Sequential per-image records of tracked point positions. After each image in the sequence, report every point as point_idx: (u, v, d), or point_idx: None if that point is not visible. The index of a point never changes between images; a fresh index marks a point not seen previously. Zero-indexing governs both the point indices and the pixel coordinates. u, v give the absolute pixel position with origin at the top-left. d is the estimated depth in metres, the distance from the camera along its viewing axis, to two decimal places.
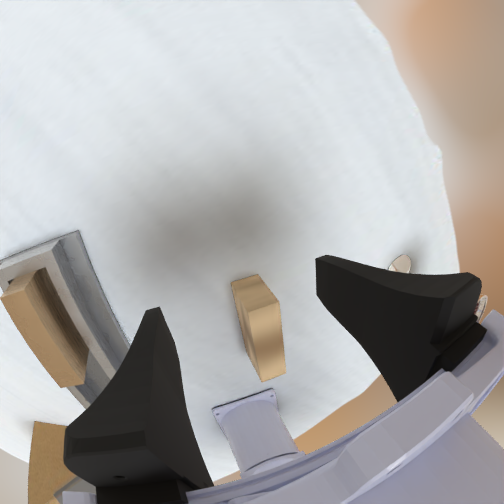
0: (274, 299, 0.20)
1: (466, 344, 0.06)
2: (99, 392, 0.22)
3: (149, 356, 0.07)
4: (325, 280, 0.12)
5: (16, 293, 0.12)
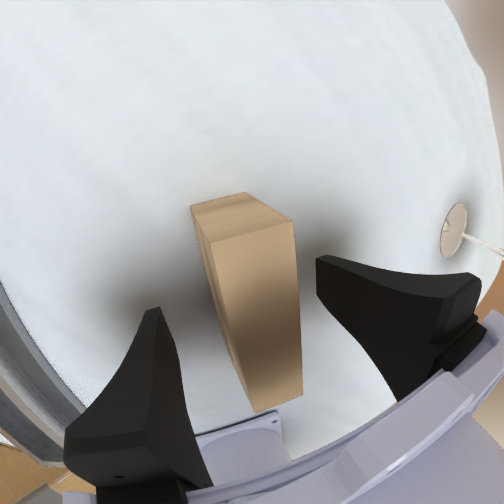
0: (280, 218, 0.08)
1: (466, 343, 0.06)
2: (6, 401, 0.10)
3: (149, 356, 0.07)
4: (325, 280, 0.12)
5: None
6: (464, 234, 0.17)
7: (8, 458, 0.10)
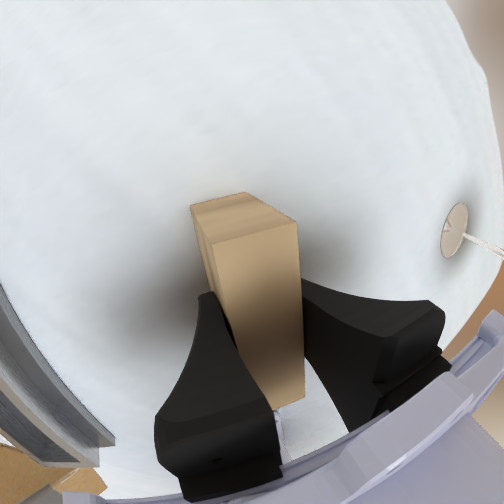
0: (283, 219, 0.08)
1: (421, 383, 0.06)
2: (5, 402, 0.10)
3: (224, 334, 0.08)
4: None
5: None
6: (465, 234, 0.17)
7: (10, 459, 0.11)
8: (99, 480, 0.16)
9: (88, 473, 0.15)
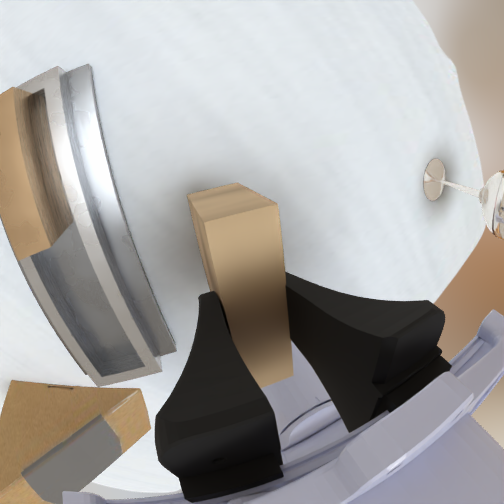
0: (267, 202, 0.09)
1: (420, 384, 0.06)
2: (79, 309, 0.17)
3: (224, 334, 0.08)
4: None
5: (1, 95, 0.07)
6: (442, 181, 0.24)
7: (58, 397, 0.18)
8: (146, 416, 0.24)
9: (138, 403, 0.22)
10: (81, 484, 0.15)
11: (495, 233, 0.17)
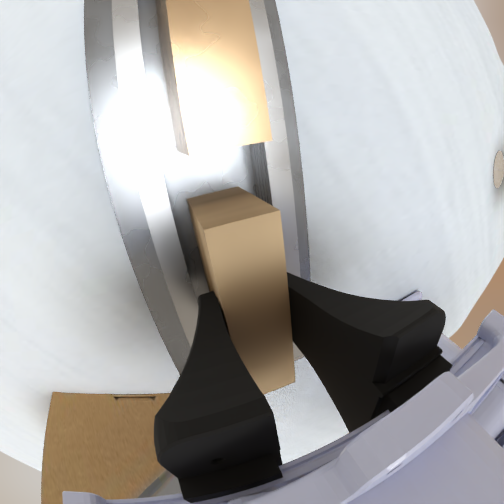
0: (269, 208, 0.09)
1: (421, 383, 0.06)
2: None
3: (223, 334, 0.08)
4: None
5: None
6: None
7: (135, 412, 0.15)
8: None
9: None
10: None
11: None
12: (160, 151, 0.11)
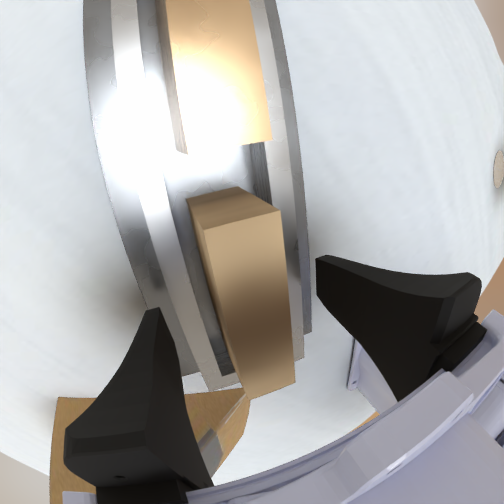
0: (269, 208, 0.09)
1: (466, 343, 0.06)
2: (204, 277, 0.13)
3: (149, 356, 0.07)
4: (325, 280, 0.12)
5: None
6: None
7: None
8: (246, 420, 0.21)
9: (246, 406, 0.19)
10: None
11: None
12: (159, 151, 0.10)
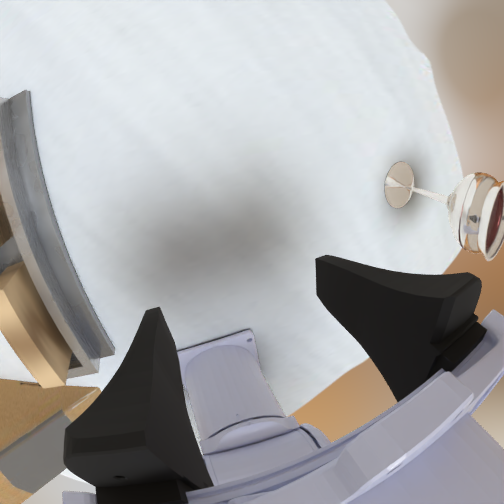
0: (3, 286, 0.11)
1: (466, 343, 0.06)
2: None
3: (149, 356, 0.07)
4: (325, 280, 0.12)
5: None
6: (407, 186, 0.24)
7: (28, 393, 0.18)
8: None
9: None
10: (50, 475, 0.14)
11: (463, 246, 0.17)
12: None
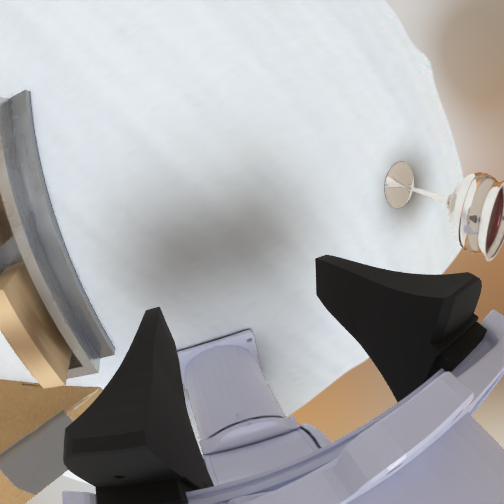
0: (3, 286, 0.11)
1: (466, 343, 0.06)
2: None
3: (149, 356, 0.07)
4: (325, 280, 0.12)
5: None
6: (407, 186, 0.24)
7: (30, 394, 0.18)
8: None
9: None
10: (52, 475, 0.14)
11: (463, 246, 0.17)
12: None
